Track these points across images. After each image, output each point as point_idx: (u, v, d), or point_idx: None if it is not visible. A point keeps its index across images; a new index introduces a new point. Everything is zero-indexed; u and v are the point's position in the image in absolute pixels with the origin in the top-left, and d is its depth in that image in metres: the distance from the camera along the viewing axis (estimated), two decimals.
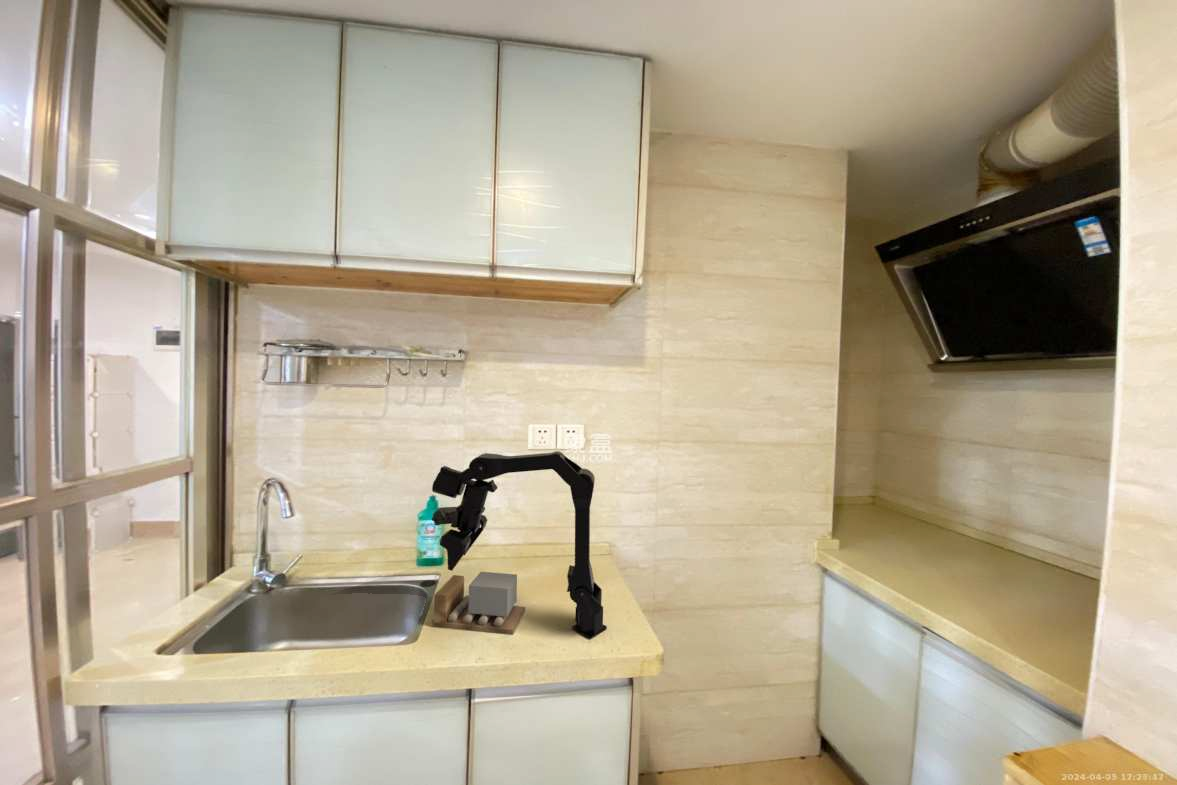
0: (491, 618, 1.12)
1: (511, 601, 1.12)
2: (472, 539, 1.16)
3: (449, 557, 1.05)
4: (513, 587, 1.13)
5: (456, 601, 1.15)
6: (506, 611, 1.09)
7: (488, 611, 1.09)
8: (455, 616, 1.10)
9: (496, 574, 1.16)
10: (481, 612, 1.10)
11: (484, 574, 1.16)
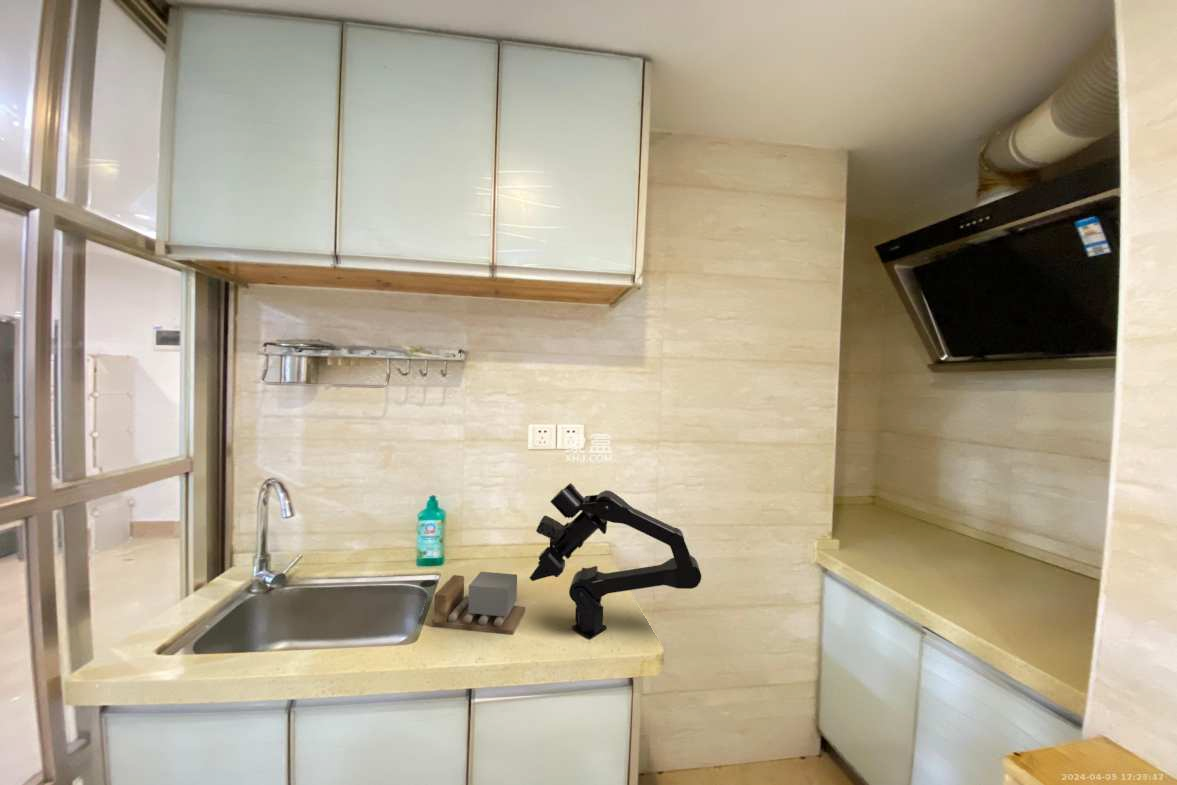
0: (491, 618, 1.12)
1: (511, 601, 1.12)
2: None
3: (537, 569, 1.06)
4: (513, 587, 1.13)
5: (456, 601, 1.15)
6: (506, 611, 1.09)
7: (488, 611, 1.09)
8: (455, 616, 1.10)
9: (496, 574, 1.16)
10: (481, 612, 1.10)
11: (484, 574, 1.16)
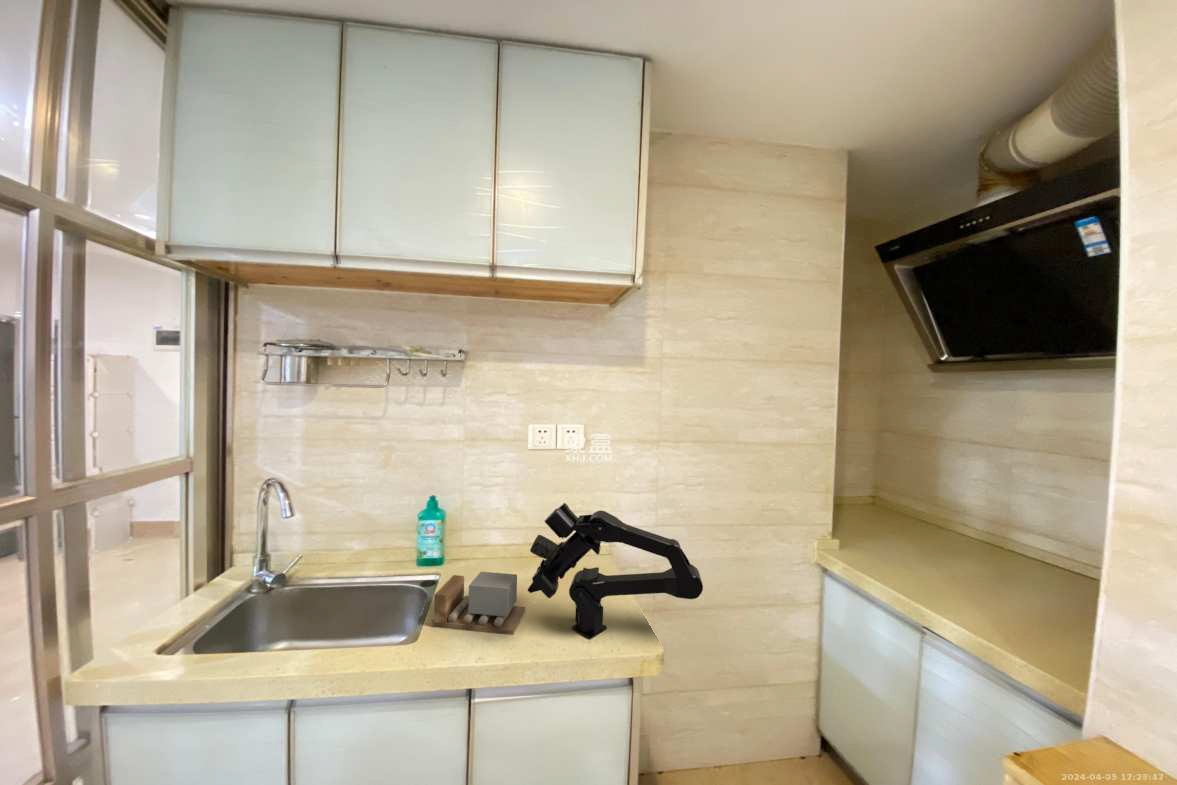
0: (491, 618, 1.12)
1: (511, 601, 1.12)
2: None
3: (535, 582, 1.10)
4: (513, 587, 1.13)
5: (456, 601, 1.15)
6: (506, 611, 1.09)
7: (488, 611, 1.09)
8: (455, 616, 1.10)
9: (496, 574, 1.16)
10: (481, 612, 1.10)
11: (484, 574, 1.16)
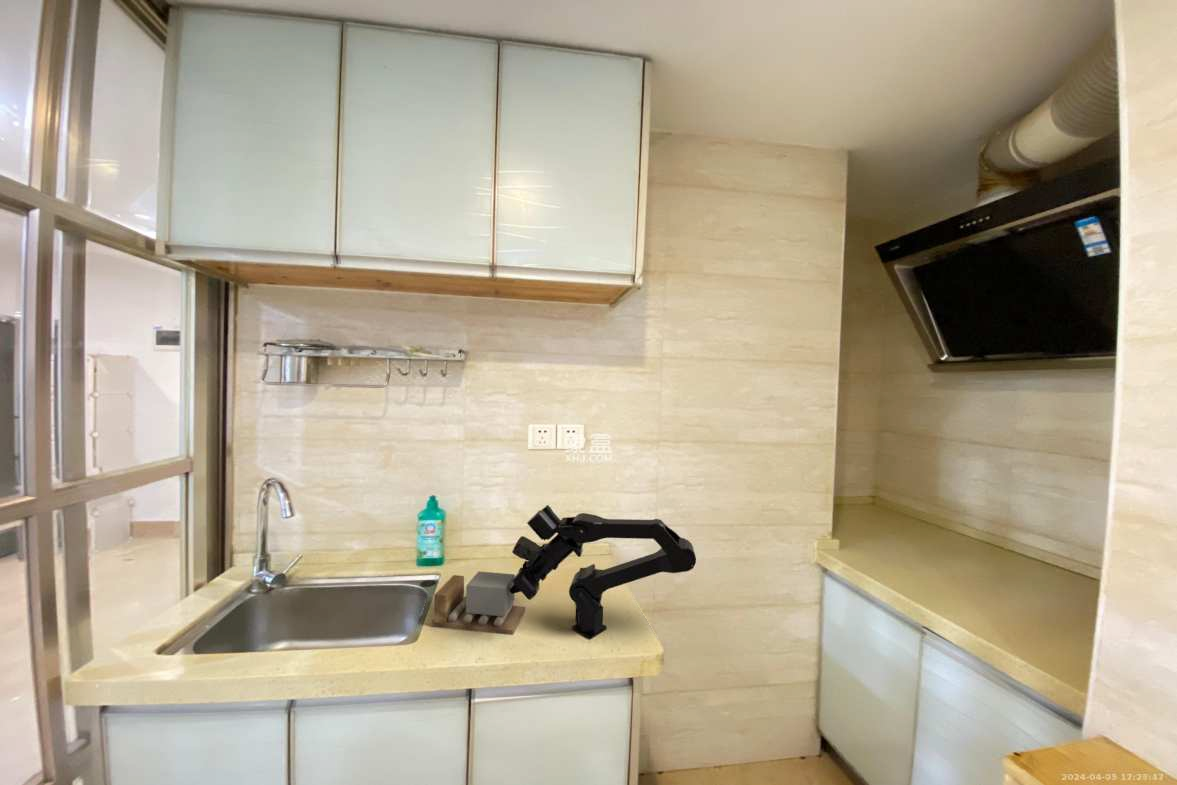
0: (491, 618, 1.12)
1: (509, 601, 1.12)
2: None
3: None
4: (511, 587, 1.14)
5: (456, 601, 1.15)
6: (503, 611, 1.09)
7: (486, 610, 1.09)
8: (455, 616, 1.10)
9: (494, 574, 1.16)
10: (478, 612, 1.10)
11: (482, 574, 1.16)
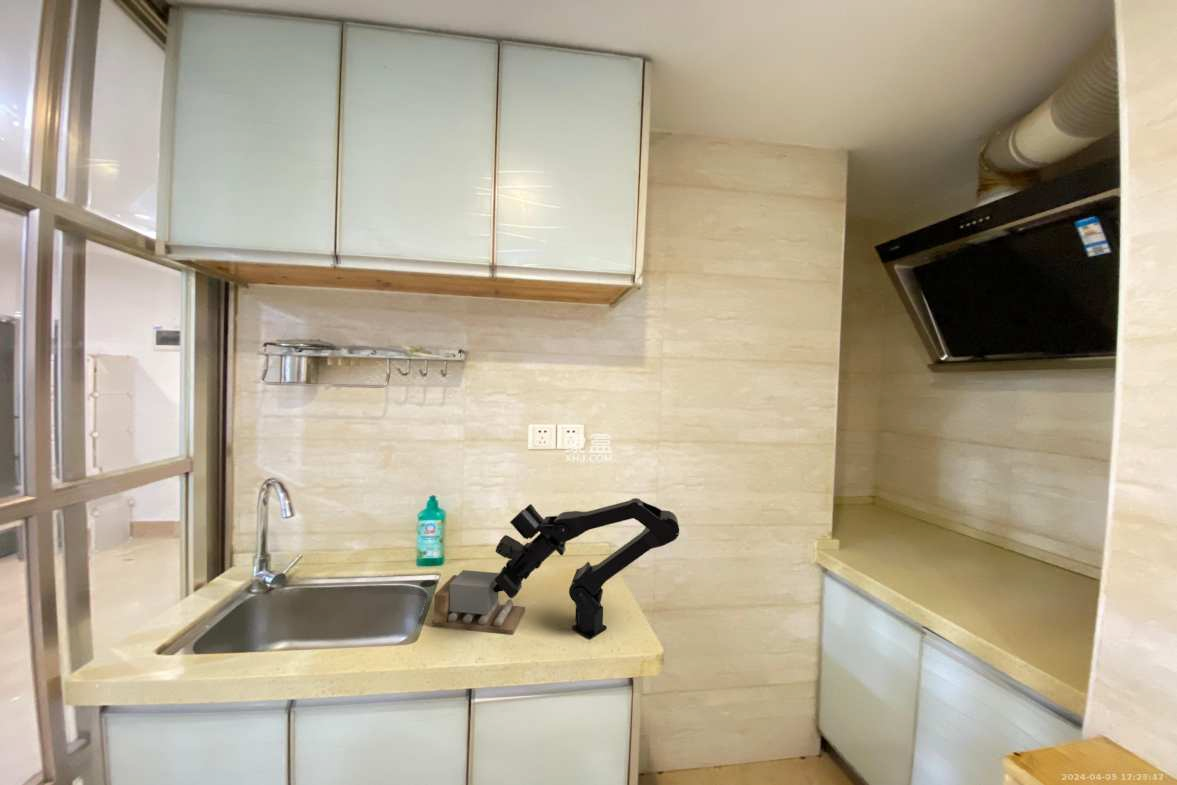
0: (491, 618, 1.12)
1: (492, 600, 1.13)
2: None
3: None
4: (494, 585, 1.14)
5: None
6: (486, 609, 1.09)
7: (469, 609, 1.10)
8: (455, 616, 1.10)
9: (478, 573, 1.17)
10: (461, 610, 1.10)
11: (466, 573, 1.17)
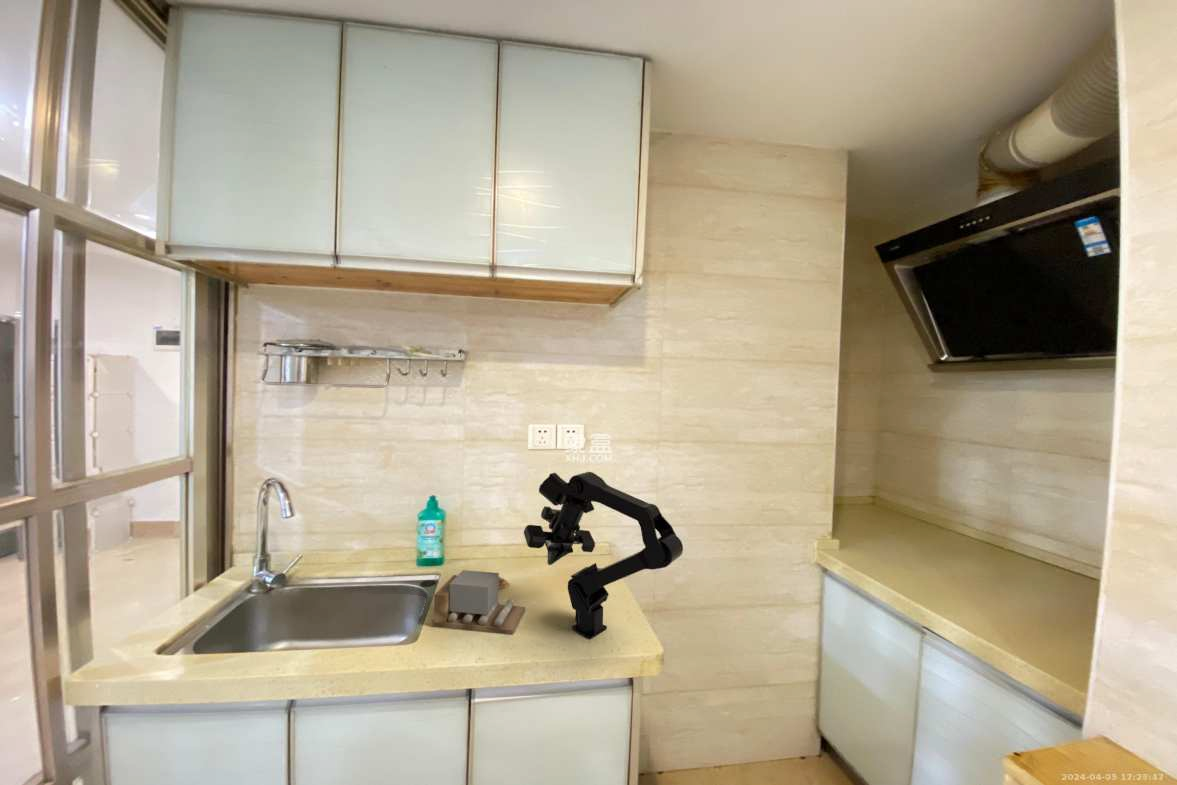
0: (491, 618, 1.12)
1: (492, 600, 1.13)
2: (557, 553, 1.15)
3: (548, 551, 1.16)
4: (494, 585, 1.14)
5: None
6: (487, 609, 1.09)
7: (469, 609, 1.10)
8: (455, 616, 1.10)
9: (478, 573, 1.17)
10: (461, 610, 1.10)
11: (466, 573, 1.17)
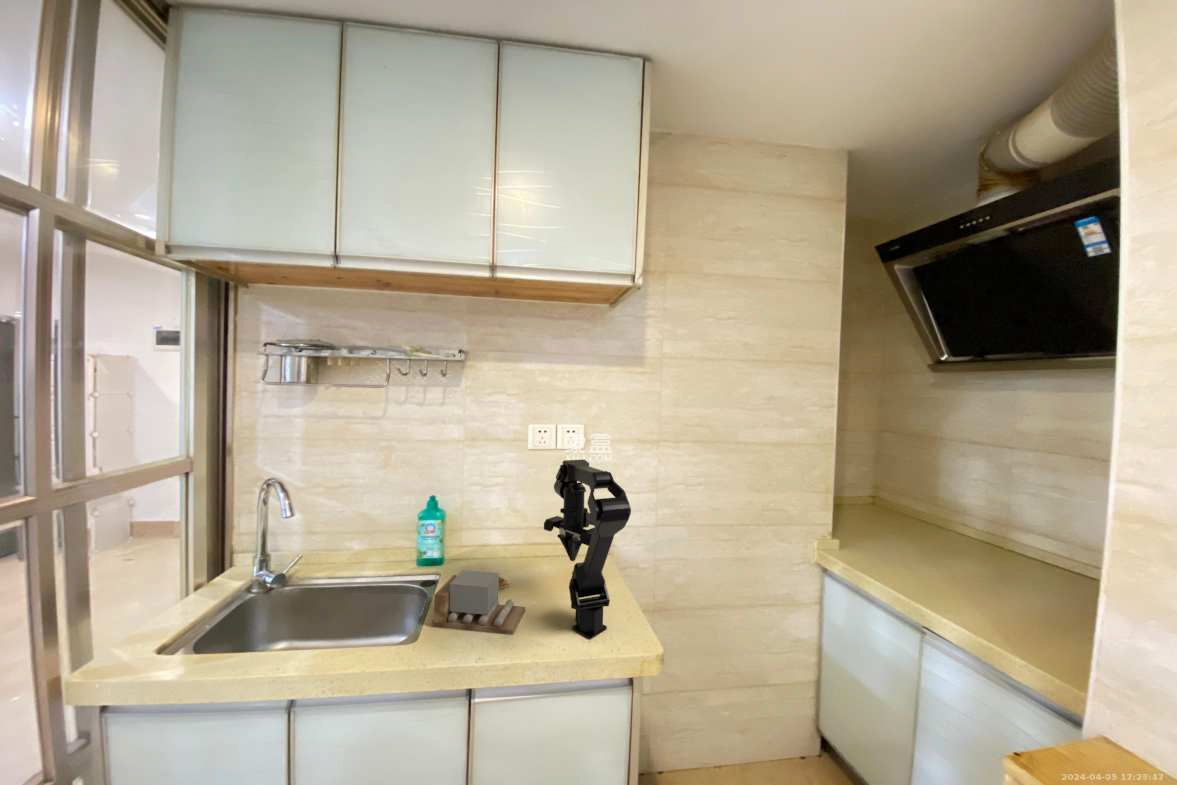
0: (491, 618, 1.12)
1: (492, 600, 1.13)
2: None
3: None
4: (494, 585, 1.14)
5: None
6: (487, 609, 1.09)
7: (469, 609, 1.10)
8: (455, 616, 1.10)
9: (478, 573, 1.17)
10: (461, 610, 1.10)
11: (466, 573, 1.17)
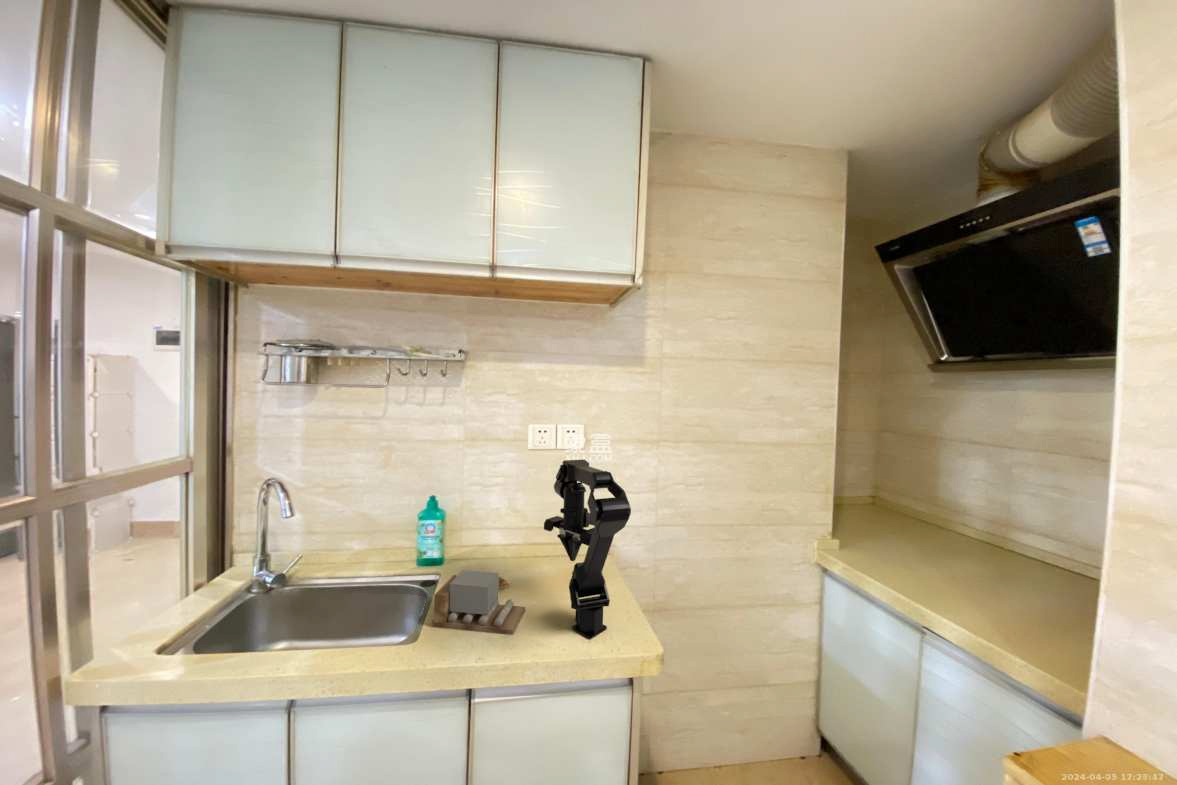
0: (491, 618, 1.12)
1: (492, 600, 1.13)
2: None
3: None
4: (494, 585, 1.14)
5: None
6: (487, 609, 1.09)
7: (469, 609, 1.10)
8: (455, 616, 1.10)
9: (478, 573, 1.17)
10: (461, 610, 1.10)
11: (466, 573, 1.17)
